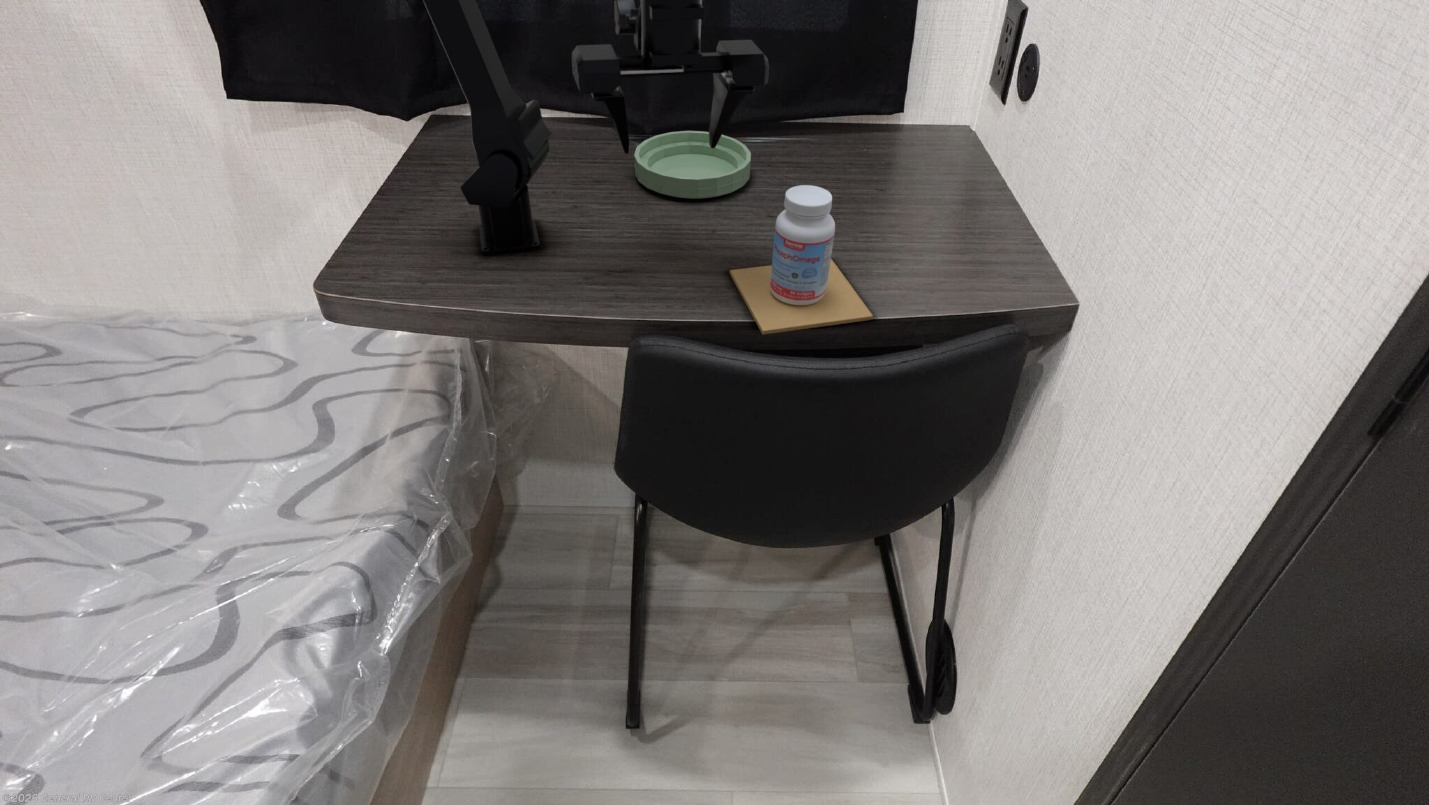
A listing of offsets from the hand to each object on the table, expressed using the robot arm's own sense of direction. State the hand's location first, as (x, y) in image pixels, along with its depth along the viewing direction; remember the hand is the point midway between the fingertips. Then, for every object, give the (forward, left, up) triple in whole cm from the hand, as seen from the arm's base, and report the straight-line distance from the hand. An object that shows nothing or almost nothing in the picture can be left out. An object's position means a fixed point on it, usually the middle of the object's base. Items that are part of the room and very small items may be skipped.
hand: (669, 149), depth 87 cm
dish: (+20, -8, -13) cm, 25 cm away
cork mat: (-11, -12, -13) cm, 21 cm away
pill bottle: (-11, -11, -12) cm, 20 cm away
